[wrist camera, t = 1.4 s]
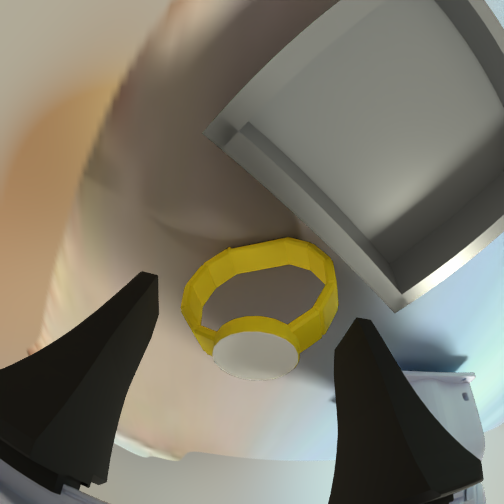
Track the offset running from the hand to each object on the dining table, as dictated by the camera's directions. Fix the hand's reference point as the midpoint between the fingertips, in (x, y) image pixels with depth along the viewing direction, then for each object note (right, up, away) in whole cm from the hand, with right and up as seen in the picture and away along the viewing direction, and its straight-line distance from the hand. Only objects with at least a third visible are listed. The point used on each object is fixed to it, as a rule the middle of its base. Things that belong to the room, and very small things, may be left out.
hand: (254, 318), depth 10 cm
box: (+6, +7, -1) cm, 10 cm away
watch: (0, +2, +4) cm, 4 cm away
